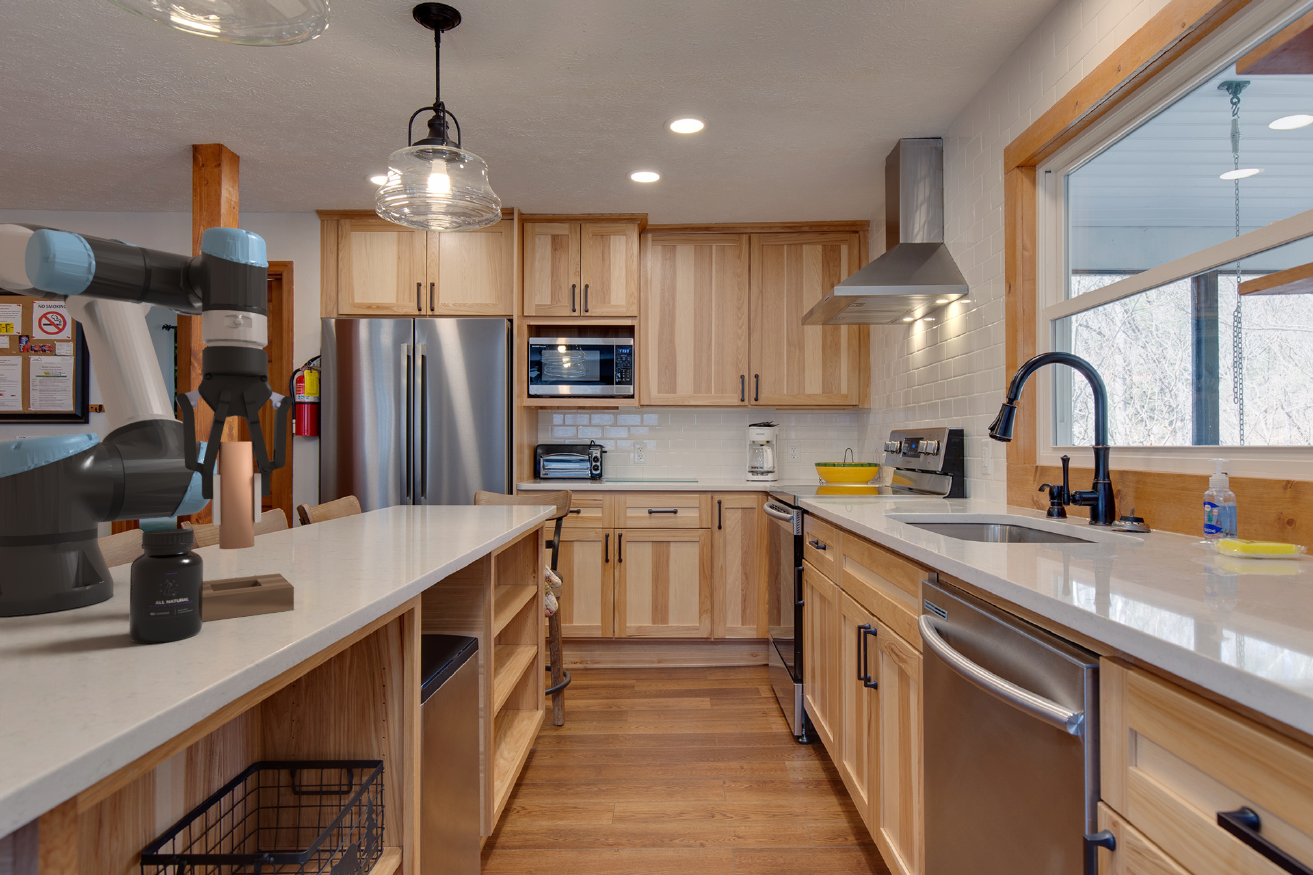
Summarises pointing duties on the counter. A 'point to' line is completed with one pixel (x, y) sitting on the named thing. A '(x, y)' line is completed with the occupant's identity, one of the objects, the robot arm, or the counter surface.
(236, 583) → the socket block
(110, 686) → the counter surface
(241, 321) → the robot arm
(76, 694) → the counter surface
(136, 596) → the supplement bottle
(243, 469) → the dowel
